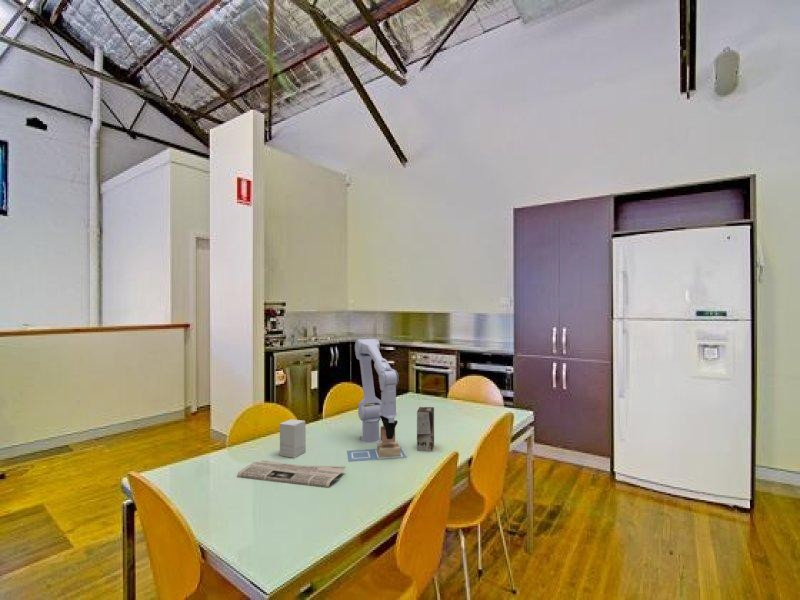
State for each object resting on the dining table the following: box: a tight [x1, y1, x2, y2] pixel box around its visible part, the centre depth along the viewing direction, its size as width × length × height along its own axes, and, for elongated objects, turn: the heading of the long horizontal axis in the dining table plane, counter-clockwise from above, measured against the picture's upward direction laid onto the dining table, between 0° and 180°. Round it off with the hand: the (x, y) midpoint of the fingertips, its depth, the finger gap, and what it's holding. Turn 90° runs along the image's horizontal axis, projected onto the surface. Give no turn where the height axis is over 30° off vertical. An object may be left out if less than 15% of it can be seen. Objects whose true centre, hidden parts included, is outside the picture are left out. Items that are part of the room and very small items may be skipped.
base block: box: [376, 441, 402, 458], centre depth 162 cm, size 8×8×3 cm
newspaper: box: [236, 460, 347, 489], centre depth 142 cm, size 35×12×4 cm, turn 75°
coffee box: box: [416, 406, 435, 453], centre depth 168 cm, size 9×6×16 cm
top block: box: [380, 425, 396, 443], centre depth 162 cm, size 5×5×5 cm
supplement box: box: [279, 418, 307, 459], centre depth 163 cm, size 7×7×13 cm
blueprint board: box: [346, 446, 408, 463], centre depth 161 cm, size 12×22×1 cm, turn 100°
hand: (388, 436), depth 162 cm, fingers closed on top block, 5 cm apart
